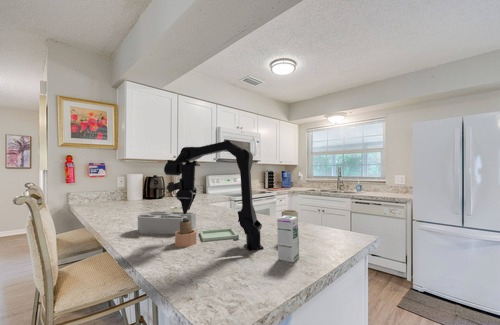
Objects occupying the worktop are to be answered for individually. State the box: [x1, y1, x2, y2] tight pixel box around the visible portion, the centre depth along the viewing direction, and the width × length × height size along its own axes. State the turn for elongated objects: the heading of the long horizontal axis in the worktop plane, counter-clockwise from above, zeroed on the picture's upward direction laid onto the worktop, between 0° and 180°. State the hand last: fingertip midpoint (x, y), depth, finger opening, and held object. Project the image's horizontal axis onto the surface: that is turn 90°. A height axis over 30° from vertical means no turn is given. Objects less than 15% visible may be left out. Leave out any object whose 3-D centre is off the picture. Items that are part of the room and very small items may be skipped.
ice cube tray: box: [137, 211, 197, 236], centre depth 120 cm, size 17×28×9 cm, turn 79°
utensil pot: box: [174, 229, 197, 248], centre depth 96 cm, size 9×9×6 cm
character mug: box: [281, 209, 299, 218], centre depth 101 cm, size 11×7×13 cm, turn 164°
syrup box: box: [276, 215, 300, 263], centre depth 81 cm, size 6×6×14 cm
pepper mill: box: [180, 218, 192, 234], centre depth 96 cm, size 5×5×10 cm
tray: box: [199, 227, 240, 243], centre depth 107 cm, size 14×16×2 cm
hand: (186, 211), depth 100 cm, fingers open, 9 cm apart
